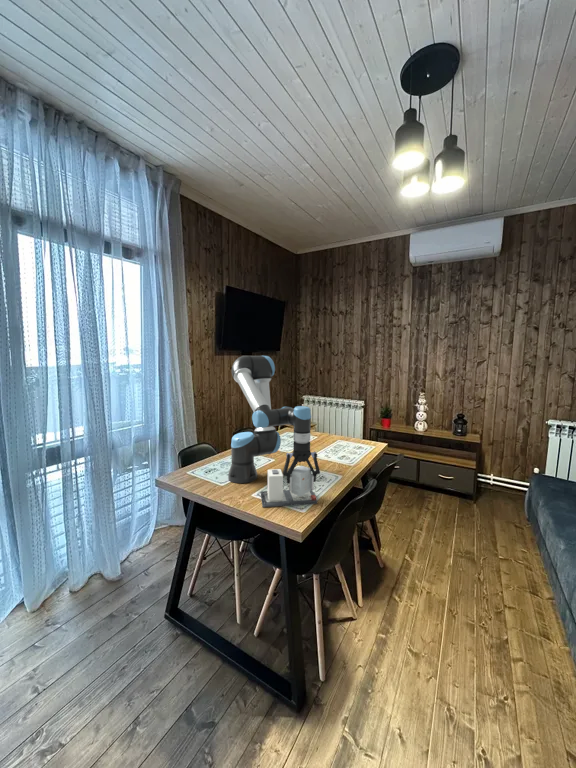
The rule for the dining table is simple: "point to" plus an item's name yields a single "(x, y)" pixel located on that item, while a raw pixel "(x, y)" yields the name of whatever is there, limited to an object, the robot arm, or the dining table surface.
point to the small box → (301, 480)
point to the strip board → (289, 499)
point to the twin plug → (275, 484)
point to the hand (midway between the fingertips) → (301, 489)
